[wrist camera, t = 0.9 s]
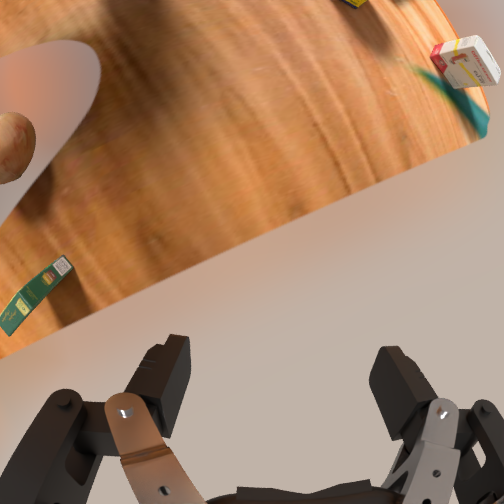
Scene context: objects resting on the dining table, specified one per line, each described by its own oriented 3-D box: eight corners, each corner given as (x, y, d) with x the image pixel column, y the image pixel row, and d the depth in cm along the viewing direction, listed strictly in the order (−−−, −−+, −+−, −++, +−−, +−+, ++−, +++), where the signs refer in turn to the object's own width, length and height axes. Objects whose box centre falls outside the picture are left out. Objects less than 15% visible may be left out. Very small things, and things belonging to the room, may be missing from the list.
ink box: (428, 56, 31) (473, 45, 20) (434, 44, 30) (477, 33, 19) (453, 90, 33) (499, 86, 22) (459, 77, 32) (502, 72, 21)
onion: (31, 101, 24) (-9, 92, 15) (57, 146, 28) (16, 145, 18) (-4, 149, 25) (-44, 152, 15) (21, 193, 28) (-21, 206, 19)
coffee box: (64, 251, 32) (16, 290, 20) (75, 266, 33) (32, 311, 21) (38, 279, 33) (-6, 321, 20) (48, 293, 34) (8, 339, 21)
